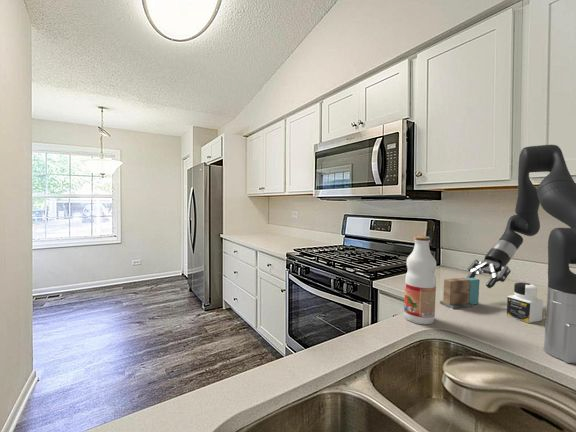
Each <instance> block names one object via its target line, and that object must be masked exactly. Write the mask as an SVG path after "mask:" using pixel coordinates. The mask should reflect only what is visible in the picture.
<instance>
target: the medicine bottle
mask: <svg viewBox="0 0 576 432" xmlns="http://www.w3.org/2000/svg"><path fill="white" fill-rule="evenodd" d="M513 287H514V289H513V293H514V294H512V295H508V296H507V298H506V299H507V300H506V316H507V317H510V318H512V319H515V320H518V321H521V322H525V323H527V324H531V323H537V322H541V321H542V320H543V307H544V300H543V299H539V298H537V296H538V294H537V293H538V287H537V286H536V285H534V284H531V283H527V282H516V283H515V284H514V286H513Z"/></svg>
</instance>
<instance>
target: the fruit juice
mask: <svg viewBox="0 0 576 432" xmlns="http://www.w3.org/2000/svg"><path fill="white" fill-rule="evenodd" d="M413 241H414V246H413V250H412V252H411V253H410V254H409V255H408V256H407V257H406V263H405V264H406V268H407V270H406V271H407V272H406V274H405V280H404V302H403V303H404V306H403V316H404V318H405V319H406V321H409V322H411V323H414V324H417V325H431V324H433V323H434V322H435V319H436V317H435V315H436V291H437V277H436V274H435V272H436V269H437V260H436V259H435V257H434V256H433V255H432V253H431V249H430V242H431V237H430V236H425V235H415V236H414V237H413Z"/></svg>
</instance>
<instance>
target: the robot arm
mask: <svg viewBox="0 0 576 432" xmlns="http://www.w3.org/2000/svg"><path fill="white" fill-rule="evenodd" d="M517 170H518V173H517V199H516V205H515V210H514V212H515V214H513V215H511V216H510V217H509V218H508V220H507V222H506V223H507V224H506V227H505V229H504V232H503V233H502V235H501V237H500V238H499V239H498V240H497V241H496V242H495V243H494V244H493V245H492V247H491V248H490V249H489V251H487V253H486V255H485V256H484V259H483V260H481V261H480V260H478V259H474V260H473V262H472V263H470V265H469V266H468V267H467V271H468V272H469V273H468V274H467V276H466V277H465V278H475V277H476V276H477V275H483V274H486V275H487V274H488V275H490V276H491V277H490V278H489V279H488V281H487V282H486V283H485V286H486V287H487V289H492V288H493V287H494V286H495V285H496V283H497V282H501V283H503V282H505V281H506V279H507V278H508V276H509V275H510V273H511V269H510V268H509V266H508V264H509V263H510V261H511V260H512V259H513V257H514V256H515V255H516V252H517V251H518V249H520V247H521V246H522V244H523V243H524V238H523V236H522V235H524V236H526V237H533V236H535V235H537V234H538V233H539V231H540V229H541V222H540V217H539V209H540V206H541V208H542V209H543V210H544V212H546V213H547V214H549V215H550V216H551V217H553V218H554V219H556V220H558V221H560V222H562V223H563V224H565V225H566V226H568V227H556V228H555V227H554V228H553V229H551V231H550V233H549V235H548V241H547V295H546V296H547V297H546V307H545V326H544V343H543V350H544V351H545V352H546V353H547V354H549V356H552V357H554V358H557V359H559V360H561V361H563V362H565V363H566V364H576V273H575V272H572V271H571V269H570V265H576V182H575V180H574V179H573V177H572V174H571V173H570V172H569V169H568V166H567V163H566V160H565V157H564V154H563V152H562V149H561V147H560V146H559V145H557V144H543V145H542V144H541V145H532V146H531V145H530V146H525V147H522V149H521V151H520V154H519V157H518V168H517ZM542 172H549V173H548V174H547V175H546V176H545V178H543V179H542V180H541V181H540V183H539V184H538V186H537V187H536V186H535V185H534V184H533V182H532V181H531V178H530V173H542Z"/></svg>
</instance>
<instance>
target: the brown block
mask: <svg viewBox="0 0 576 432" xmlns="http://www.w3.org/2000/svg"><path fill="white" fill-rule="evenodd" d="M469 293H470V280H469V279H466V277H458V278H445V279H443V293H442V294H443V295H442V296H443V297H442V298H443V299H442V300H440V301H439V304H440V305H443V306H445V307H446V308H450V309H451V308H452V310H455V309H456V310H457V309H465V308H472V307H473V304H471V303H469Z"/></svg>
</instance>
